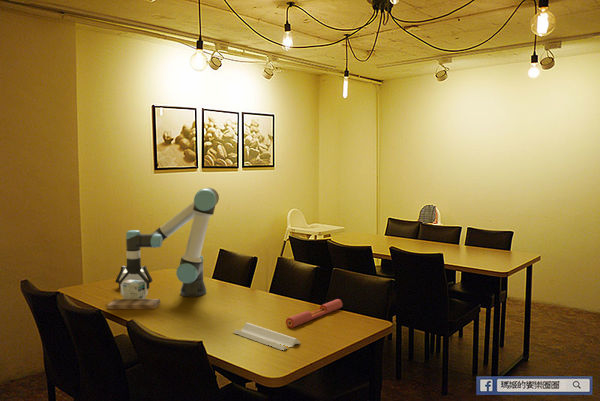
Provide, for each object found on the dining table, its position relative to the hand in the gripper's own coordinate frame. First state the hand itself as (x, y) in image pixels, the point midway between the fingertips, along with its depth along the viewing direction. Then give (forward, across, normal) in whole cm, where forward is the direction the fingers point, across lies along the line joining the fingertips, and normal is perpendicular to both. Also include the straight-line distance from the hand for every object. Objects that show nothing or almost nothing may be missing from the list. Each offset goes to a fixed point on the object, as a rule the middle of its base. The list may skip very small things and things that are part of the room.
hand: (134, 294), depth 275 cm
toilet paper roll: (+3, +9, -29) cm, 31 cm away
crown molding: (+4, -77, +62) cm, 98 cm away
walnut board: (+3, -4, +12) cm, 13 cm away
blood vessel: (+3, -101, +32) cm, 106 cm away
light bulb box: (+3, 0, 0) cm, 3 cm away
